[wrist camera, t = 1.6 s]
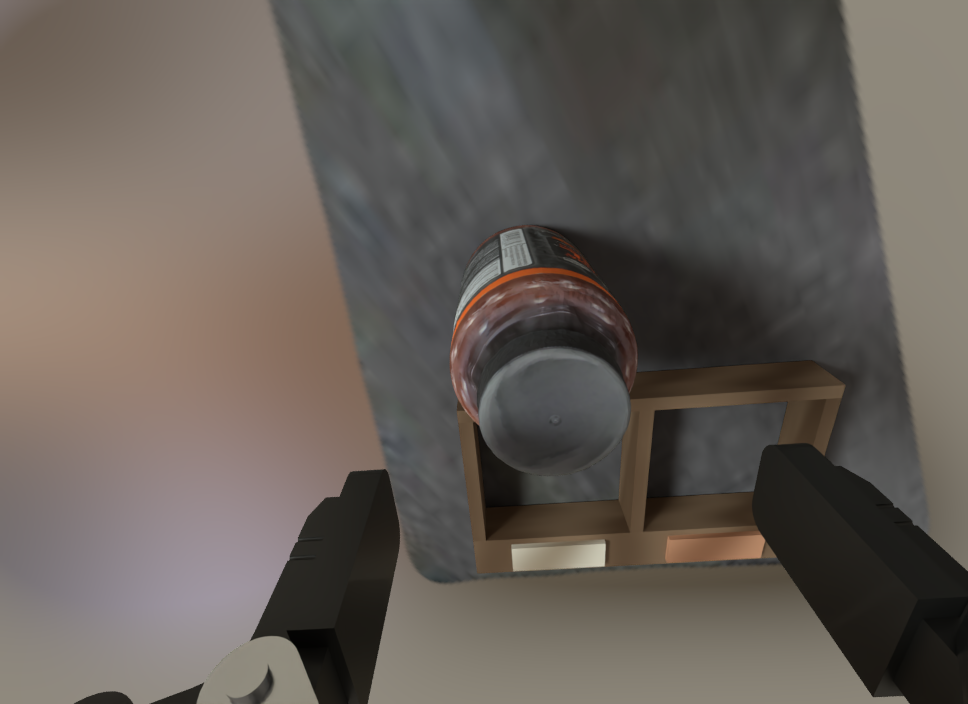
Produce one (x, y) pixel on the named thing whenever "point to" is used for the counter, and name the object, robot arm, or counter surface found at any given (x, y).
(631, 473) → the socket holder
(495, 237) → the supplement bottle
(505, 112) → the counter surface
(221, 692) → the robot arm
